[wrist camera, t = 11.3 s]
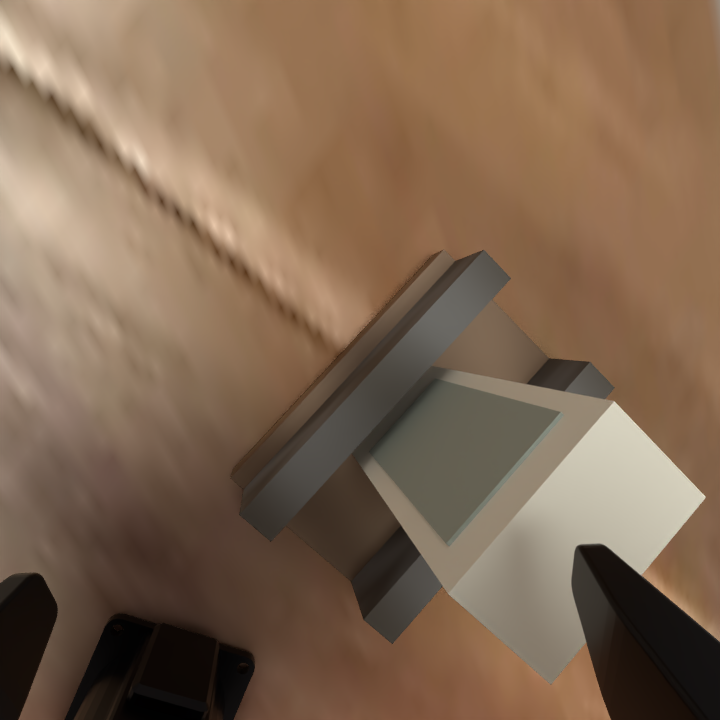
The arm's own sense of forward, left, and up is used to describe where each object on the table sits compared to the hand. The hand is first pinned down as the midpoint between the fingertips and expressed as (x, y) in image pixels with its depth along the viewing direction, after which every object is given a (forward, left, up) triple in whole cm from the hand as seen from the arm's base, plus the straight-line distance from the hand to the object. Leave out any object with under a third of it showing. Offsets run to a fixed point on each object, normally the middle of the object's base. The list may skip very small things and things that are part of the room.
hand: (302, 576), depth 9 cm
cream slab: (+2, -5, -13) cm, 14 cm away
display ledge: (+2, -5, -14) cm, 15 cm away
